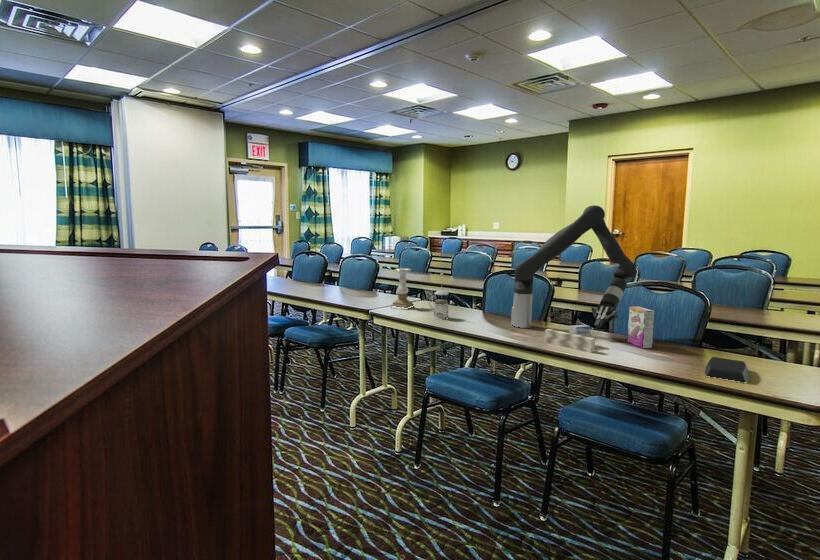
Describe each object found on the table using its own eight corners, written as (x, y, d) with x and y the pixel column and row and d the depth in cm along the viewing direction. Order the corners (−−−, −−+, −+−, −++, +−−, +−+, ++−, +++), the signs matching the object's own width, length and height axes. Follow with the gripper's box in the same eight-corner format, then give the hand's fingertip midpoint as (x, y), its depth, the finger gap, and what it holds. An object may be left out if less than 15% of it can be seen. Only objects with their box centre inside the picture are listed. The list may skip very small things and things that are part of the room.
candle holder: (414, 306, 294) (414, 268, 291) (406, 309, 284) (407, 270, 282) (398, 305, 299) (398, 267, 296) (390, 308, 289) (390, 269, 286)
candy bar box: (626, 342, 212) (628, 306, 210) (636, 342, 213) (638, 306, 211) (642, 348, 201) (645, 310, 199) (652, 348, 202) (655, 310, 200)
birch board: (544, 341, 211) (545, 329, 210) (548, 340, 213) (548, 328, 212) (590, 352, 194) (591, 339, 193) (594, 351, 196) (595, 338, 195)
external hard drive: (748, 371, 173) (749, 360, 173) (749, 385, 158) (750, 374, 157) (706, 364, 181) (707, 354, 180) (703, 378, 165) (704, 366, 165)
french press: (450, 319, 256) (451, 274, 253) (429, 319, 256) (429, 273, 253) (449, 316, 266) (450, 272, 263) (428, 315, 266) (429, 271, 263)
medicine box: (574, 347, 203) (575, 327, 202) (568, 344, 207) (569, 325, 206) (589, 345, 205) (591, 326, 204) (583, 343, 209) (584, 324, 208)
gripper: (596, 291, 225) (581, 319, 219) (623, 294, 215) (608, 324, 209) (601, 301, 229) (586, 329, 223) (628, 304, 219) (613, 334, 213)
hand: (597, 326), depth 216 cm, fingers closed
